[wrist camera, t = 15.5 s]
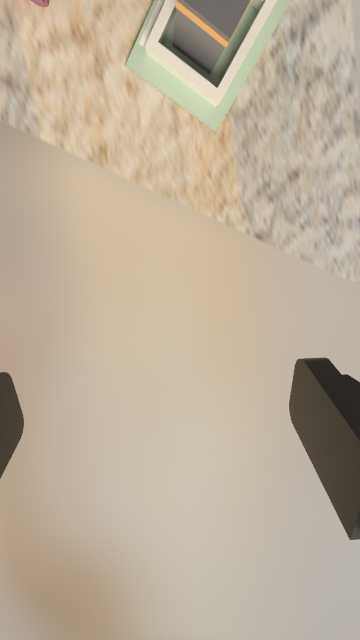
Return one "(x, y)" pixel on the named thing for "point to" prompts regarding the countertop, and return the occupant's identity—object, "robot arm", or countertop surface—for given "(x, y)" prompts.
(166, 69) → the board
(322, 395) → the robot arm
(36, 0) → the video game controller
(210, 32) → the plug
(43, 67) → the countertop surface
